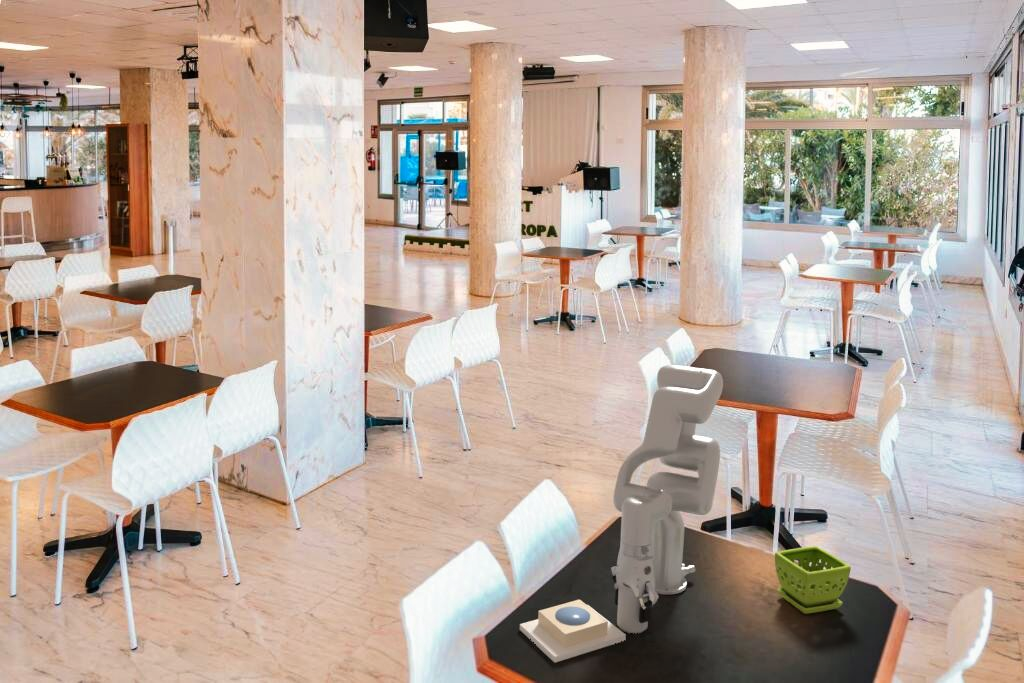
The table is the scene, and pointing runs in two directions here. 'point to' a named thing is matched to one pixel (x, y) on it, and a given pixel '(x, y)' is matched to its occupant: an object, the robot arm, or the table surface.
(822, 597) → the flower pot
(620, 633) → the base
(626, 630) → the can
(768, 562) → the table surface
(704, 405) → the robot arm
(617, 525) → the table surface
